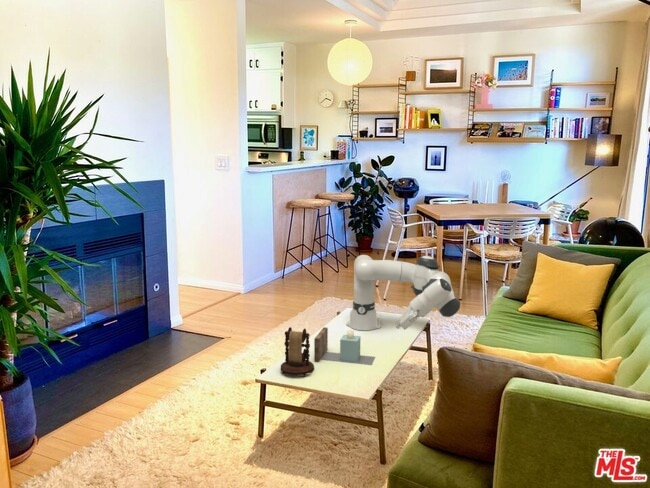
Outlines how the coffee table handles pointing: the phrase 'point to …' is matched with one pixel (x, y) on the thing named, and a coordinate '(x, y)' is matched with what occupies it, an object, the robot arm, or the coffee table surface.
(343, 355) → the dowel block
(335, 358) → the grey flat rectangular plate
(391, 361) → the coffee table surface
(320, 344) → the backstop wall
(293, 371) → the scroll
